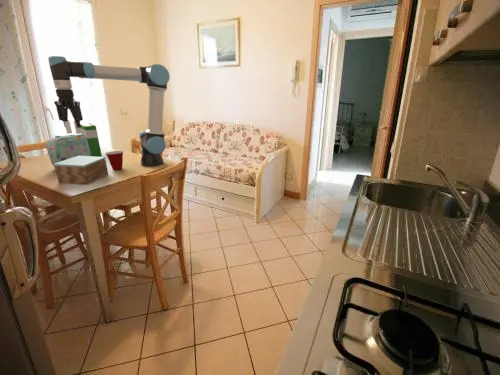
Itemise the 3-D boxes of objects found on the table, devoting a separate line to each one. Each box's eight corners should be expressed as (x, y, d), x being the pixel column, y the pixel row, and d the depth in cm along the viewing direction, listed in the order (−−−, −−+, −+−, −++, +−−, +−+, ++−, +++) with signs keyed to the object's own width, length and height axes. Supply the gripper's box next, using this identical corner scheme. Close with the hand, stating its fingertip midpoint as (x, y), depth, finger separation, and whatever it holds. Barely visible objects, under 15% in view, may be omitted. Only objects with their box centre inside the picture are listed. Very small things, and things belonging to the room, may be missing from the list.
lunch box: (63, 171, 167) (54, 138, 160) (50, 170, 169) (41, 137, 162) (94, 160, 192) (88, 131, 184) (82, 160, 194) (75, 131, 186)
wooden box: (108, 174, 161) (105, 159, 157) (87, 184, 144) (83, 167, 140) (82, 173, 163) (78, 158, 160) (58, 182, 146) (54, 165, 143)
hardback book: (85, 153, 212) (79, 124, 204) (95, 152, 217) (89, 123, 208) (91, 157, 200) (84, 126, 191) (101, 156, 205) (95, 125, 196)
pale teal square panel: (106, 158, 157) (105, 156, 157) (83, 167, 140) (83, 165, 140) (78, 157, 160) (78, 155, 159) (53, 165, 143) (52, 164, 142)
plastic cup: (121, 166, 179) (118, 149, 175) (129, 169, 173) (126, 151, 169) (105, 169, 171) (101, 151, 167) (112, 172, 165) (109, 154, 161)
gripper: (42, 88, 134) (54, 134, 142) (73, 89, 131) (83, 135, 139) (54, 88, 141) (65, 132, 149) (84, 89, 138) (93, 132, 146)
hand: (74, 133), depth 144 cm, fingers open, 5 cm apart
